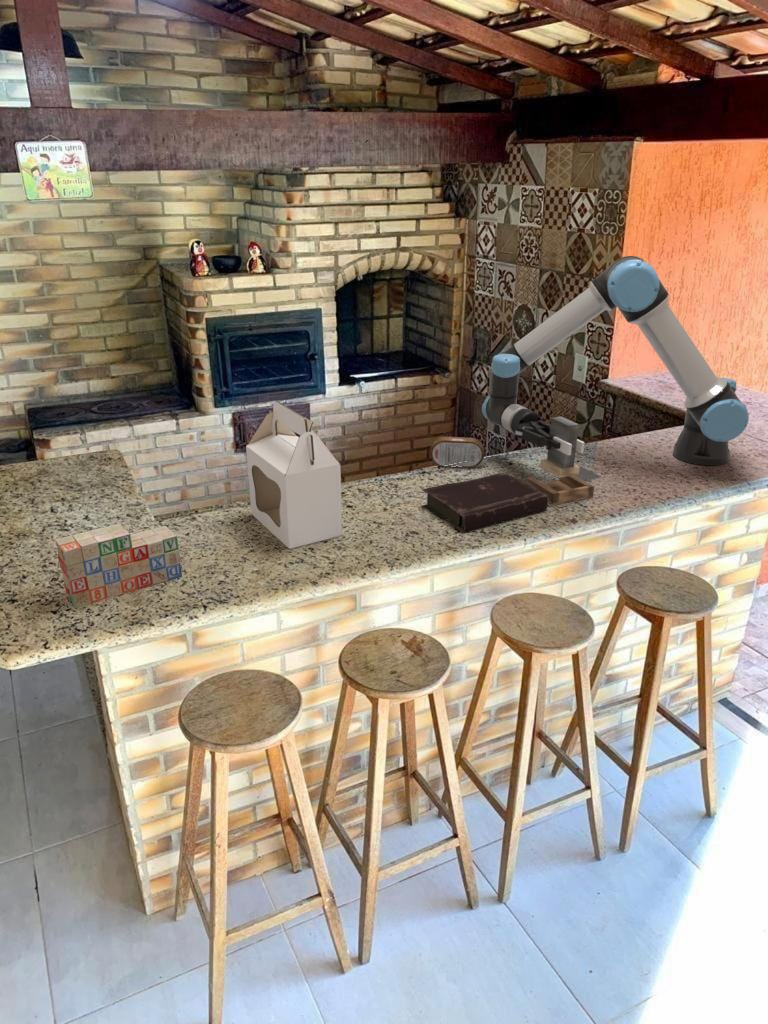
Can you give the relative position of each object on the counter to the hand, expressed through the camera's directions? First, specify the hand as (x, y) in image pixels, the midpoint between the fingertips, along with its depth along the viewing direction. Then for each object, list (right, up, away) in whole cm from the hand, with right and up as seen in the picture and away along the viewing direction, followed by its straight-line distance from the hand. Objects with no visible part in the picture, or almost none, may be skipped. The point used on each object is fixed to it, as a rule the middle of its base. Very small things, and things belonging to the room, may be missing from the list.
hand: (576, 448), depth 184 cm
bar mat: (+5, -5, +22) cm, 23 cm away
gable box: (-67, -18, -7) cm, 70 cm away
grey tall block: (-2, -5, +8) cm, 9 cm away
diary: (-22, -15, +3) cm, 27 cm away
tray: (-2, -11, +10) cm, 15 cm away
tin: (-26, -3, +28) cm, 39 cm away
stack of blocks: (-98, -30, -32) cm, 108 cm away
